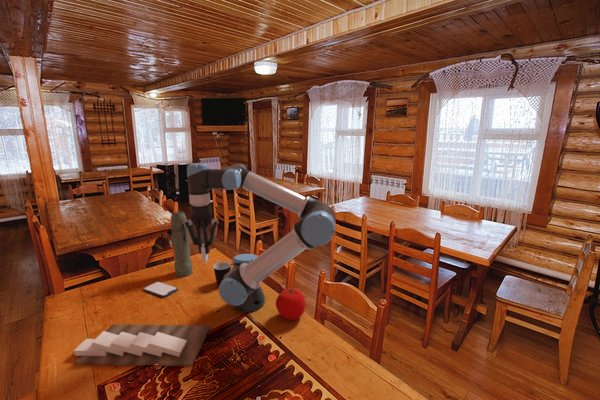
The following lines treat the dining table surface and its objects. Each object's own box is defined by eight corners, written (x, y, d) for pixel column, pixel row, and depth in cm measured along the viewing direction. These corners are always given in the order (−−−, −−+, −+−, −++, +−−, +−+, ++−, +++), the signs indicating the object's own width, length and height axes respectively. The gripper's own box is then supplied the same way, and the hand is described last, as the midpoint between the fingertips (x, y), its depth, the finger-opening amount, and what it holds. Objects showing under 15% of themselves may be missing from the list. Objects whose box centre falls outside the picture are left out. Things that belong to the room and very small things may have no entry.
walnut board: (210, 327, 121) (210, 325, 121) (191, 366, 102) (191, 363, 101) (112, 326, 122) (112, 324, 122) (75, 364, 102) (75, 362, 102)
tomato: (307, 310, 132) (307, 284, 129) (301, 327, 121) (301, 299, 118) (280, 307, 135) (280, 281, 132) (272, 323, 124) (271, 295, 121)
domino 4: (169, 340, 110) (140, 331, 109) (161, 352, 104) (130, 343, 104) (168, 344, 110) (139, 336, 110) (160, 356, 105) (129, 348, 104)
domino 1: (115, 339, 110) (86, 338, 111) (105, 351, 104) (73, 350, 105) (116, 343, 111) (87, 343, 111) (105, 355, 105) (75, 355, 105)
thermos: (186, 279, 160) (180, 216, 152) (170, 274, 165) (163, 213, 157) (198, 271, 168) (192, 211, 160) (182, 268, 173) (176, 209, 164)
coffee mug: (216, 289, 150) (214, 270, 148) (213, 281, 158) (212, 263, 155) (239, 284, 154) (238, 266, 152) (235, 276, 162) (234, 259, 160)
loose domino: (186, 340, 110) (157, 331, 109) (180, 352, 104) (149, 343, 103) (185, 344, 110) (156, 336, 110) (178, 356, 104) (148, 348, 104)
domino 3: (151, 339, 110) (121, 331, 109) (142, 351, 104) (111, 343, 104) (150, 344, 111) (120, 336, 110) (141, 356, 105) (110, 347, 104)
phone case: (142, 291, 149) (163, 299, 142) (141, 288, 149) (163, 296, 142) (158, 283, 157) (179, 290, 150) (157, 280, 157) (178, 287, 149)
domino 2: (133, 339, 110) (103, 330, 110) (123, 351, 104) (92, 342, 104) (132, 344, 111) (102, 335, 110) (122, 356, 105) (91, 346, 104)
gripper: (220, 201, 119) (223, 257, 124) (187, 201, 119) (192, 256, 124) (214, 206, 111) (218, 265, 117) (179, 206, 112) (185, 264, 117)
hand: (205, 260), depth 121 cm, fingers closed
